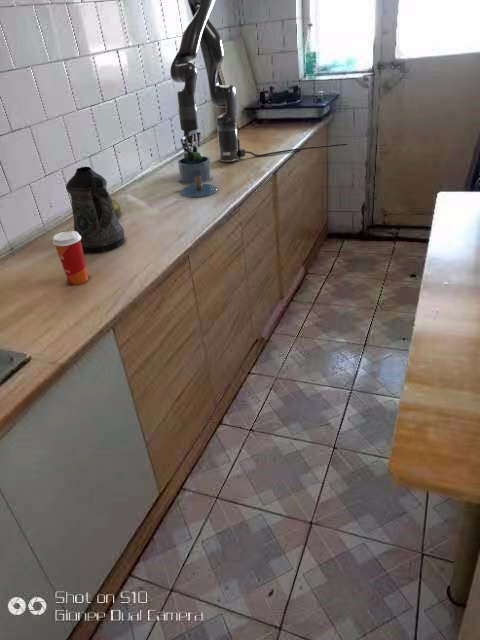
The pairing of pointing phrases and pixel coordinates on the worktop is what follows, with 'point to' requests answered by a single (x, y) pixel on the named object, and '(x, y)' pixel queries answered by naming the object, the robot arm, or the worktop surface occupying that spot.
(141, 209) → the worktop surface
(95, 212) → the beer stein
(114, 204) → the potato
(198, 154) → the cucumber
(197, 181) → the lid
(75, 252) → the paper cup
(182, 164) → the pot
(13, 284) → the worktop surface
